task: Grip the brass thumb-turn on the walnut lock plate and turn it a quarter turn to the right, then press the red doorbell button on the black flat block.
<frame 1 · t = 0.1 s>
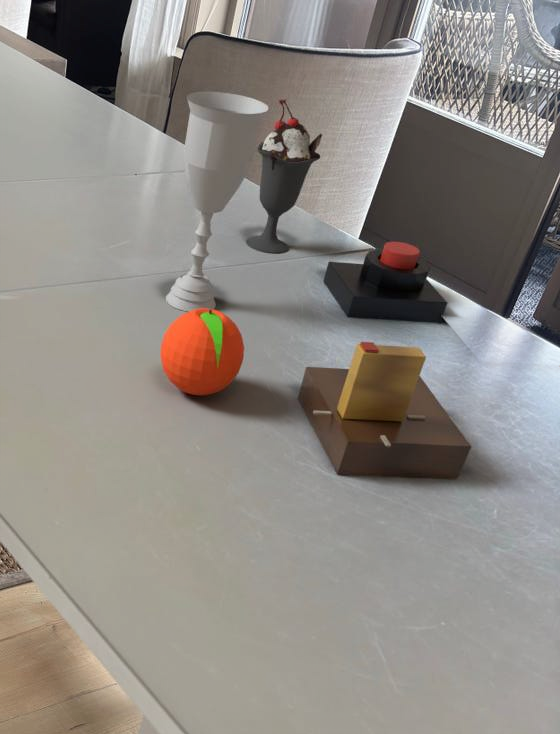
thumbturn: (380, 382, 75), point 6 cm above the table, hinge at 0.0°
bell button: (399, 256, 100), point 4 cm above the table, slide at 0.1 cm
sundae: (266, 247, 111), on the table
lock plate: (373, 437, 80), on the table
clementine: (195, 395, 83), on the table
chalice: (190, 303, 97), on the table
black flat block: (380, 302, 102), on the table
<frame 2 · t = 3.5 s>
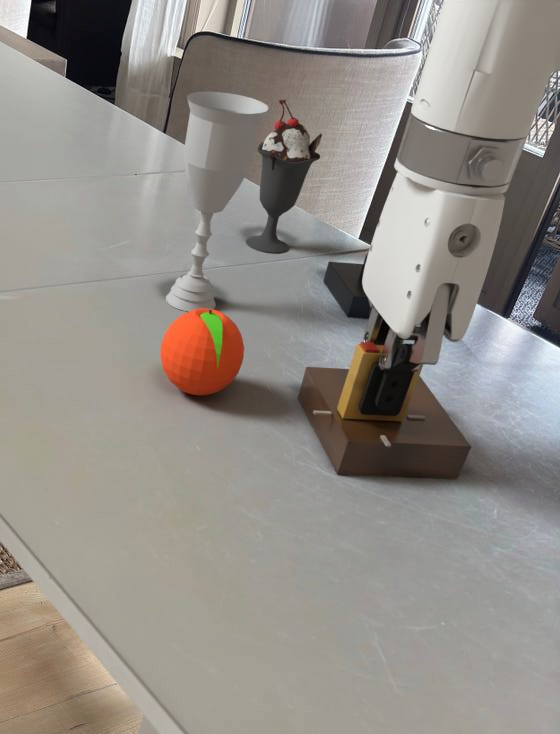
hand: (373, 404, 76), 4 cm above the table, tool pointing down, fingers closed on thumbturn
thumbturn: (380, 382, 75), point 6 cm above the table, hinge at 0.0°, touching gripper
everything else where it was.
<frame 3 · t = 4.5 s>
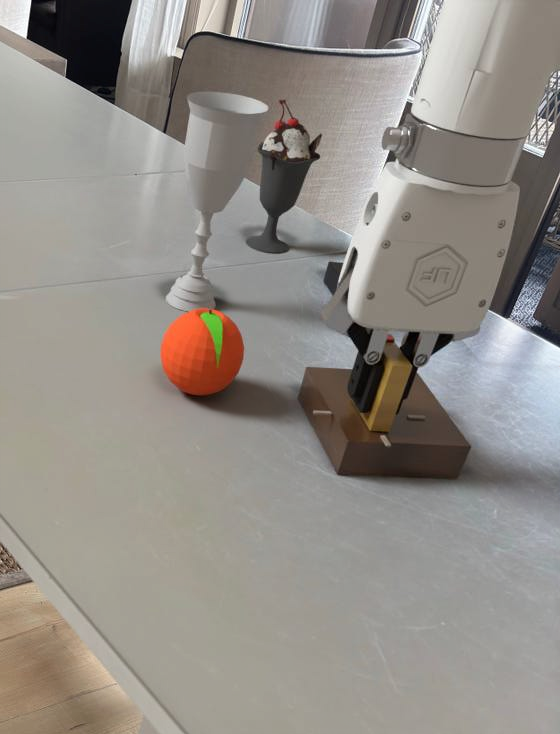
hand: (373, 403, 76), 4 cm above the table, tool pointing down, fingers closed on thumbturn
thumbturn: (380, 382, 75), point 6 cm above the table, hinge at -90.1°, touching gripper
everything else where it was.
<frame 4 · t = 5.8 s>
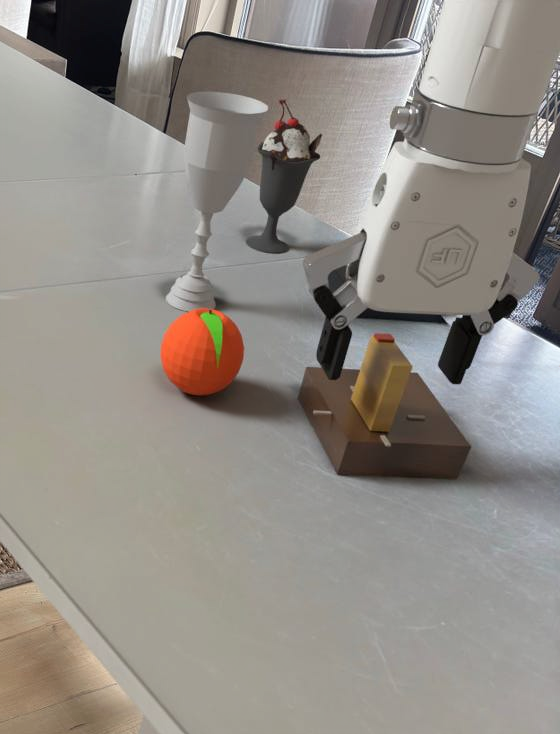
hand: (388, 373, 75), 7 cm above the table, tool pointing down, fingers open, 9 cm apart
thumbturn: (380, 382, 75), point 6 cm above the table, hinge at -89.7°
everything else where it was.
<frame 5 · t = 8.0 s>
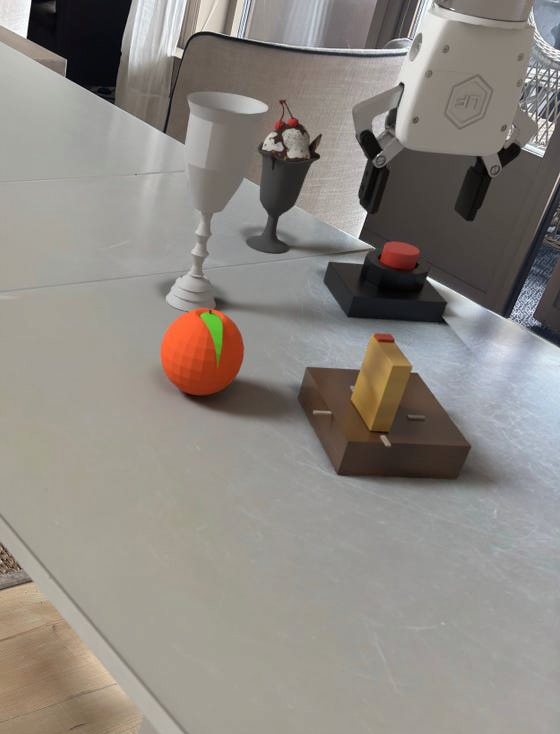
hand: (415, 212, 91), 11 cm above the table, tool pointing down, fingers open, 9 cm apart
nothing on the table moved.
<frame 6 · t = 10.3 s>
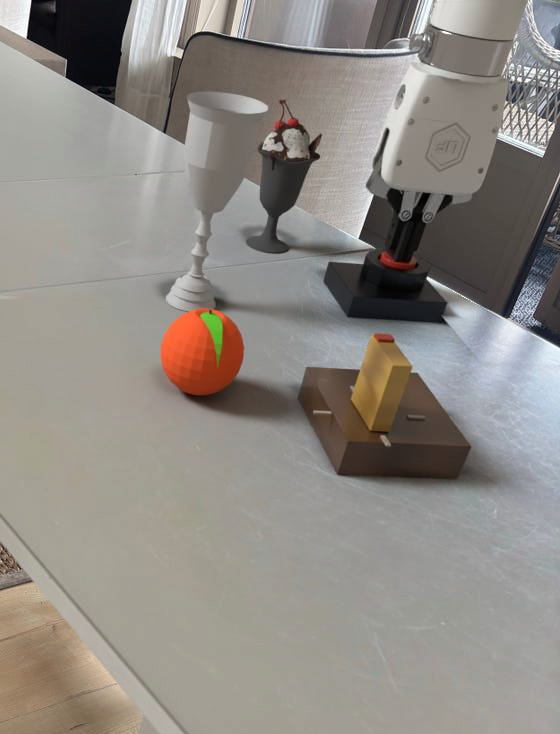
hand: (397, 256, 100), 4 cm above the table, tool pointing down, fingers closed
bell button: (396, 265, 101), point 4 cm above the table, slide at -0.9 cm, touching gripper
everything else where it was.
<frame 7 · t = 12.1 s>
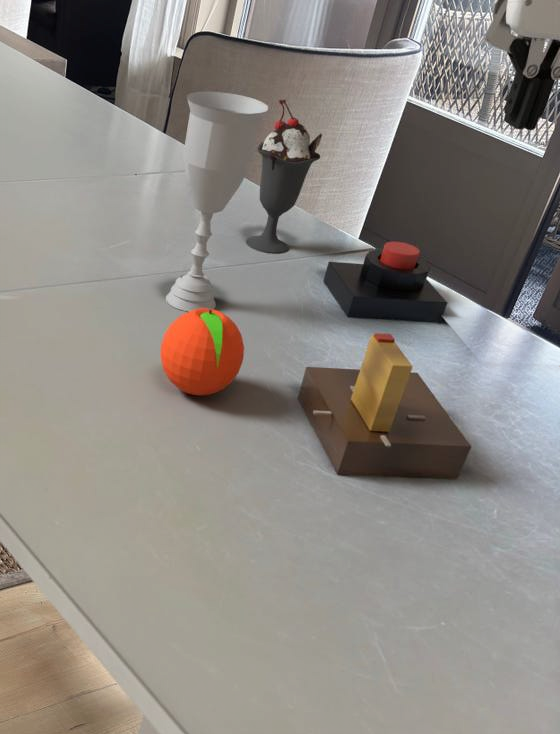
hand: (518, 125, 88), 19 cm above the table, tool pointing down, fingers closed
bell button: (399, 256, 100), point 4 cm above the table, slide at 0.1 cm
everything else where it was.
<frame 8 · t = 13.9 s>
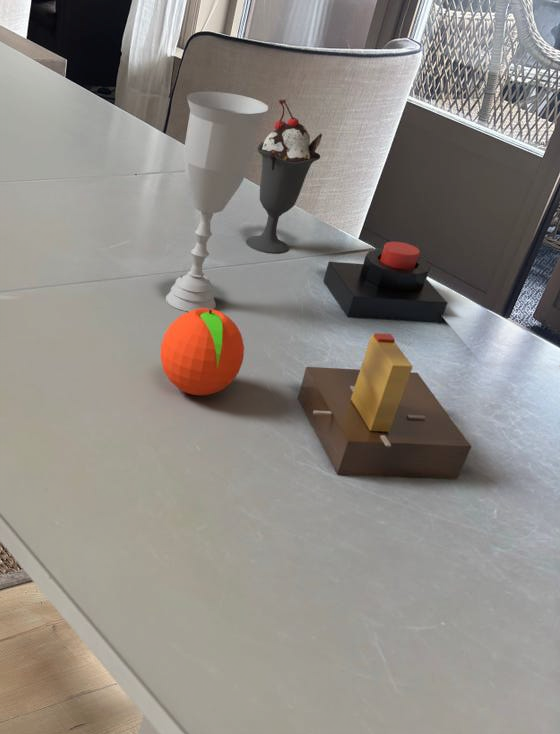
nothing on the table moved.
at the end: thumbturn at -90° (first picture: +0°); bell button pushed in 1.1 cm at the most during the clip, back to where it started at the end; bell button slide at 0.1 cm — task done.
